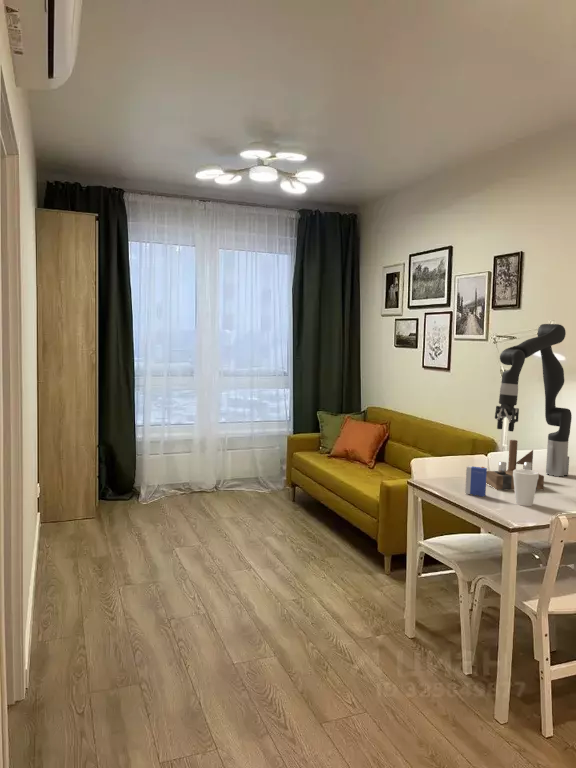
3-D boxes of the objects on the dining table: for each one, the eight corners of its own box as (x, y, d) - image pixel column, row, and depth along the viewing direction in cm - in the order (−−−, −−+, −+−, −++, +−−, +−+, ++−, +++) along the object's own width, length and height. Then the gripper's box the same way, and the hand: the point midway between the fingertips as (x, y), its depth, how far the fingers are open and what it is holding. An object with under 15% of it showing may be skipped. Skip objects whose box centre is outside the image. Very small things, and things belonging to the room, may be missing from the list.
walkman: (485, 495, 247) (486, 467, 246) (484, 496, 244) (485, 468, 244) (466, 492, 251) (467, 464, 250) (465, 494, 248) (466, 466, 247)
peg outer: (503, 474, 264) (504, 461, 263) (507, 476, 261) (507, 463, 260) (496, 474, 263) (497, 461, 263) (500, 476, 260) (500, 463, 260)
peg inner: (528, 474, 265) (529, 461, 265) (532, 476, 262) (533, 463, 262) (522, 474, 265) (522, 461, 264) (525, 476, 262) (526, 463, 261)
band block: (531, 483, 269) (532, 471, 269) (543, 489, 259) (544, 476, 259) (485, 484, 267) (486, 471, 266) (495, 489, 257) (496, 476, 256)
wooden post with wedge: (530, 480, 276) (532, 442, 275) (506, 477, 281) (508, 440, 280) (531, 479, 279) (533, 441, 278) (507, 476, 284) (509, 439, 283)
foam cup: (530, 500, 240) (532, 469, 239) (540, 507, 231) (542, 474, 230) (507, 500, 240) (509, 469, 239) (517, 506, 230) (518, 474, 229)
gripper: (525, 395, 256) (522, 432, 256) (506, 393, 270) (503, 429, 270) (510, 394, 254) (506, 431, 255) (492, 392, 268) (488, 427, 268)
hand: (505, 430), depth 262 cm, fingers open, 8 cm apart
